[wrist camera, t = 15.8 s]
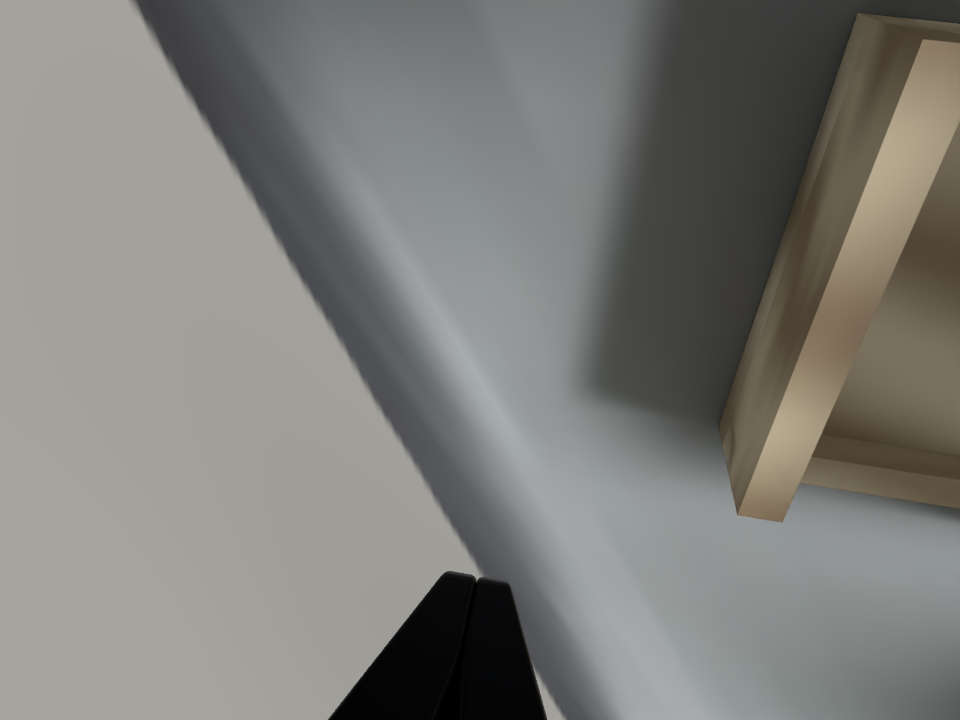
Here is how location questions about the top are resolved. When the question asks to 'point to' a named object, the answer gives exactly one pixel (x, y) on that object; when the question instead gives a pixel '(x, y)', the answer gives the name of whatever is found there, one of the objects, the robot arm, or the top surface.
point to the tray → (863, 292)
